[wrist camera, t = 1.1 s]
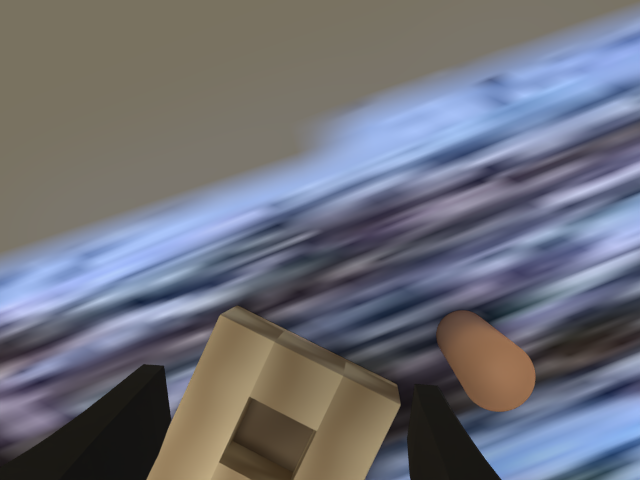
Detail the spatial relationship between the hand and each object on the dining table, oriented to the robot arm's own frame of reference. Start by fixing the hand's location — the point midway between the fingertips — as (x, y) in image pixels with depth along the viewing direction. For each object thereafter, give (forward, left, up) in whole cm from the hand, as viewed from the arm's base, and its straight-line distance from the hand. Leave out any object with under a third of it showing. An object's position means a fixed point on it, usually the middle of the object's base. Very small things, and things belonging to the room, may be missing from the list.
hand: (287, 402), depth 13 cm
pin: (-7, -2, -13) cm, 15 cm away
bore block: (0, +7, -13) cm, 14 cm away
